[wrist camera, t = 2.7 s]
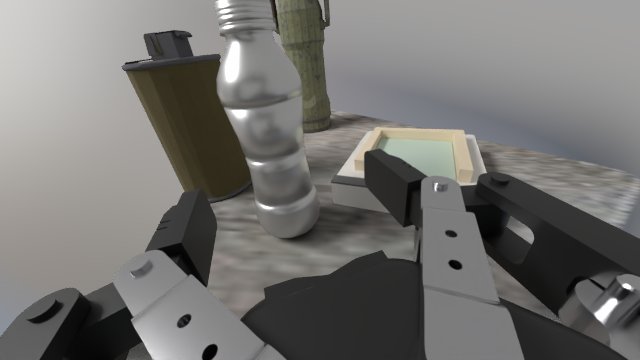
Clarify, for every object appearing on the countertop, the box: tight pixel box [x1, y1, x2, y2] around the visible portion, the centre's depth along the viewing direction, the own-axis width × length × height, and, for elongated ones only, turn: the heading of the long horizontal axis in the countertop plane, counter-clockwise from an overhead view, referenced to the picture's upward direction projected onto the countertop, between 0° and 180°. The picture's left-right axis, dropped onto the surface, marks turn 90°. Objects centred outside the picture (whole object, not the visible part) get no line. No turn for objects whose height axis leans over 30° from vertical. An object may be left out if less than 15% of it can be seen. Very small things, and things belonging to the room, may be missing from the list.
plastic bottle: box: [214, 0, 320, 238], centre depth 20 cm, size 6×7×20 cm
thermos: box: [270, 0, 331, 133], centre depth 47 cm, size 9×12×35 cm
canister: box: [122, 30, 252, 203], centre depth 31 cm, size 11×10×20 cm
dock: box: [331, 127, 487, 214], centre depth 31 cm, size 18×16×4 cm
